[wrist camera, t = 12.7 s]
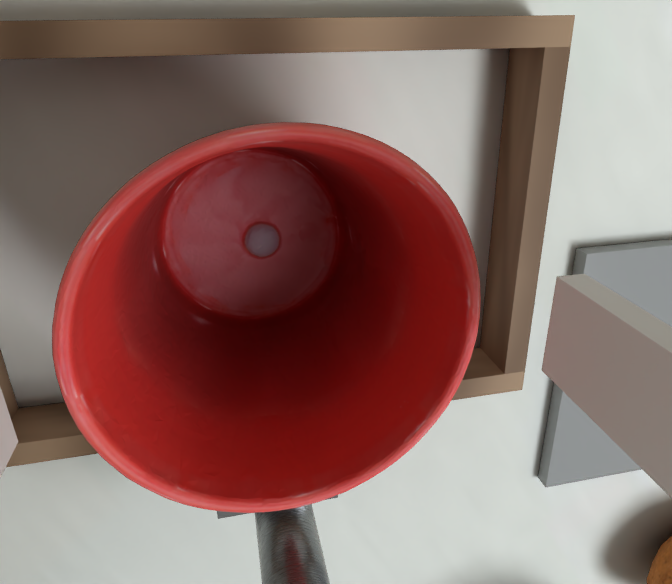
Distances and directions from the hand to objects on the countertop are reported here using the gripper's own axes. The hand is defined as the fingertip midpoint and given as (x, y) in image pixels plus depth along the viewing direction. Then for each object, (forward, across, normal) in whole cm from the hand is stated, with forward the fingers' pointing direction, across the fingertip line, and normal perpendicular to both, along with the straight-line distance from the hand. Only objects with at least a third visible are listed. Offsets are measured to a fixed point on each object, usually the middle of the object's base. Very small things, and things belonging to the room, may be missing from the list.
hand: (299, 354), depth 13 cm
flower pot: (+11, 0, 0) cm, 11 cm away
